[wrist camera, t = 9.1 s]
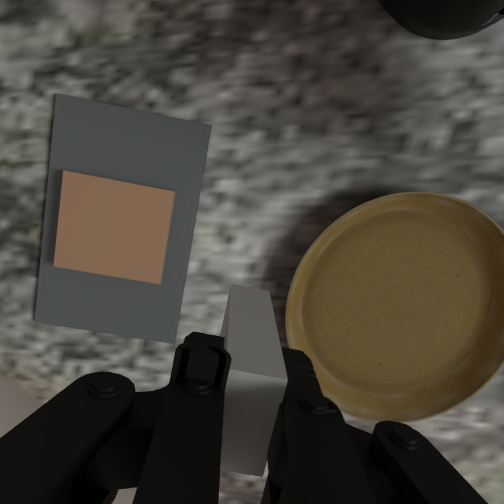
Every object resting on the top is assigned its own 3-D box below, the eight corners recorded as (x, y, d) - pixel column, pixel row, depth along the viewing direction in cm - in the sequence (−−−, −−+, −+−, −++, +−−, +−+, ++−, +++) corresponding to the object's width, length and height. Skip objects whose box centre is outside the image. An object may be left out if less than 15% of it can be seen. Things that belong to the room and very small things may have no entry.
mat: (57, 94, 38) (56, 93, 38) (211, 125, 39) (211, 125, 39) (36, 320, 42) (34, 321, 42) (174, 342, 44) (174, 343, 43)
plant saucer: (548, 244, 44) (573, 250, 41) (439, 434, 48) (454, 454, 45) (342, 149, 41) (352, 148, 37) (245, 362, 45) (246, 378, 42)
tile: (176, 190, 40) (69, 170, 39) (174, 191, 39) (63, 170, 38) (162, 280, 42) (59, 262, 41) (160, 284, 40) (53, 266, 40)
